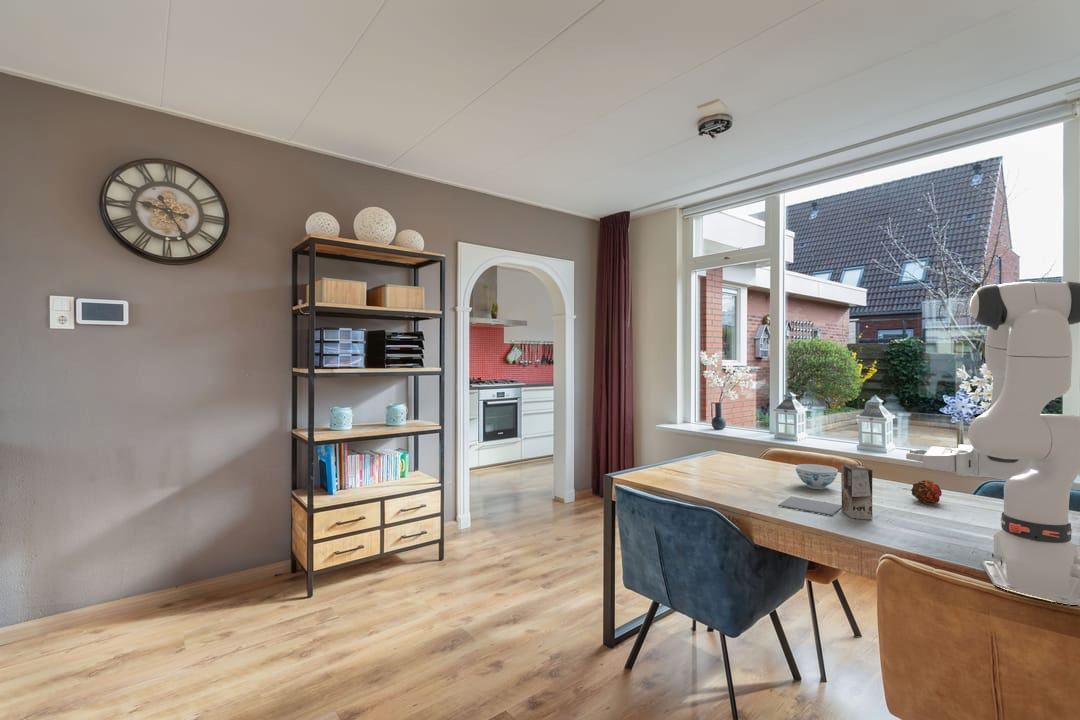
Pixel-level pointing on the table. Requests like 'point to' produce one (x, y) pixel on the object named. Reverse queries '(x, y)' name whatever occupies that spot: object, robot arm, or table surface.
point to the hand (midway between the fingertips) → (908, 454)
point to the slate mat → (811, 505)
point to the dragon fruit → (926, 491)
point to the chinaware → (816, 475)
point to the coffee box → (856, 491)
